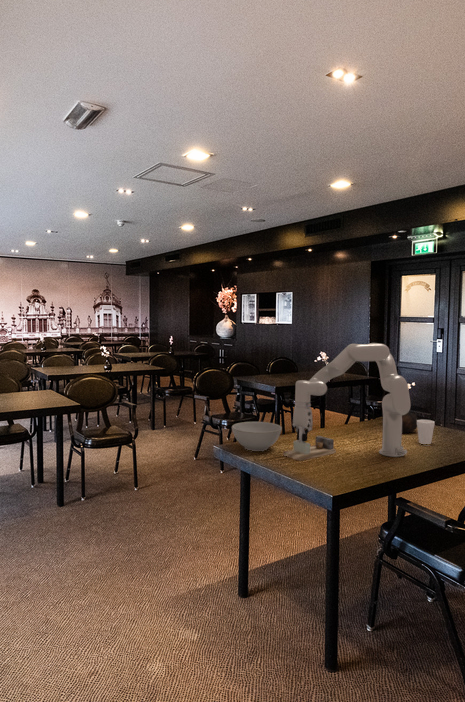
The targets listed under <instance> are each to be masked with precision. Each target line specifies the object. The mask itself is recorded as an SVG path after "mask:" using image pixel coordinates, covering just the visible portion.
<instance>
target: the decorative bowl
mask: <svg viewBox="0 0 465 702" xmlns="http://www.w3.org/2000/svg"><path fill="white" fill-rule="evenodd" d="M282 429H283V427H282V426H281V425H280V424H277V423H273V422H268V421H267V422H266V421H244V422H238V423H234V424H233V425H232V426H231V431H232V434H233V435H234V438H235V439H236V441H237V442H238V443H239V444H240V446H242V447H244V450H246V449H248V450H252V451H262V452H265V451H264V450H266V451H268V450H267V449H269V448H270V447H272V446H273V445H274V444H275V443H276V442H277V440H278V439H279V437H280V436H281V432H282ZM248 450H247V451H248ZM252 451H251V452H252Z"/></svg>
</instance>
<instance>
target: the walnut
mask: <svg viewBox="0 0 465 702" xmlns="http://www.w3.org/2000/svg"><path fill="white" fill-rule="evenodd" d="M315 445H316V449H323V443H322V442H316V441H315Z"/></svg>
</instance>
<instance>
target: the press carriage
mask: <svg viewBox="0 0 465 702" xmlns="http://www.w3.org/2000/svg"><path fill="white" fill-rule="evenodd" d="M298 428H299V440H297V439H296V440H293V448H292V450H293V451H296V452H300V453H303V454H310V446H311V443H309V442H307V441H304V442H302V434H303V428H302V427H300V426H298Z"/></svg>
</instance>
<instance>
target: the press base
mask: <svg viewBox="0 0 465 702" xmlns="http://www.w3.org/2000/svg"><path fill="white" fill-rule="evenodd" d="M316 442H322V443H323V449H316V444H314V445H310V454H303V453H300V452H296V451H293V449H290V450H285V451H284V450H283V452H282V455H284V457H286V456H287V458H290V459H293V460H295V461H298V462H301V461H306V460H310V459H315V458H319V457H324V456H328V455H332V454H336V450H337V449H336V448H334V446H335V443H334V438H333V439H332V438H329V437H325V436H321V435H317V436H316V435H315V443H316Z"/></svg>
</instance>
